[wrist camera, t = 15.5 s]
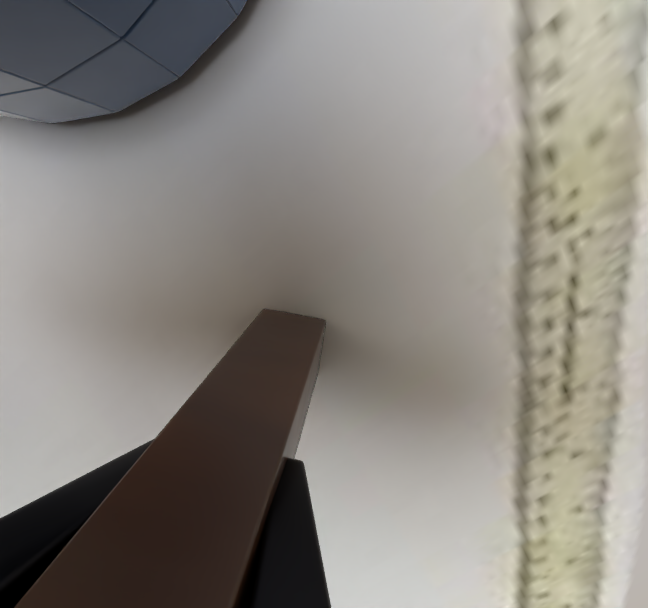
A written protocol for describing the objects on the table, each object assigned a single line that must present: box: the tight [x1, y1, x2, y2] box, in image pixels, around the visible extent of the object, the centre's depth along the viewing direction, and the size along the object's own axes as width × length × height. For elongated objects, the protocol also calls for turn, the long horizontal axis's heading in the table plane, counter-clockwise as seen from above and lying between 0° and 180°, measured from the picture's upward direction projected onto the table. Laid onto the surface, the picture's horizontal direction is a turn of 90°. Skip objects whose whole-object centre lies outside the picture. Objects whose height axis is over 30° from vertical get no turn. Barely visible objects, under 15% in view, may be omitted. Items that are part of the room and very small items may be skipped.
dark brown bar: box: [14, 309, 326, 608], centre depth 7 cm, size 2×2×12 cm
